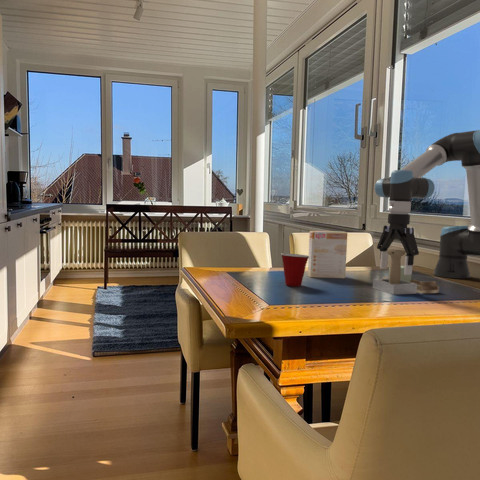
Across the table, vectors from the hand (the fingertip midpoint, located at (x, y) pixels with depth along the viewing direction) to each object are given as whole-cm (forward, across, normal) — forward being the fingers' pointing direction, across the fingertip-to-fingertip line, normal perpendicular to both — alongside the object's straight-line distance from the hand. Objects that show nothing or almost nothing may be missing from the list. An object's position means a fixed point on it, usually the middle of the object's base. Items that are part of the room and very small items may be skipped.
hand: (395, 271), depth 164 cm
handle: (+7, 0, 0) cm, 7 cm away
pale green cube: (+6, -11, +11) cm, 17 cm away
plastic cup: (+7, -16, -33) cm, 37 cm away
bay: (+7, -5, +11) cm, 14 cm away
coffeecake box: (+7, -32, -10) cm, 34 cm away
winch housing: (+7, 0, 0) cm, 7 cm away
